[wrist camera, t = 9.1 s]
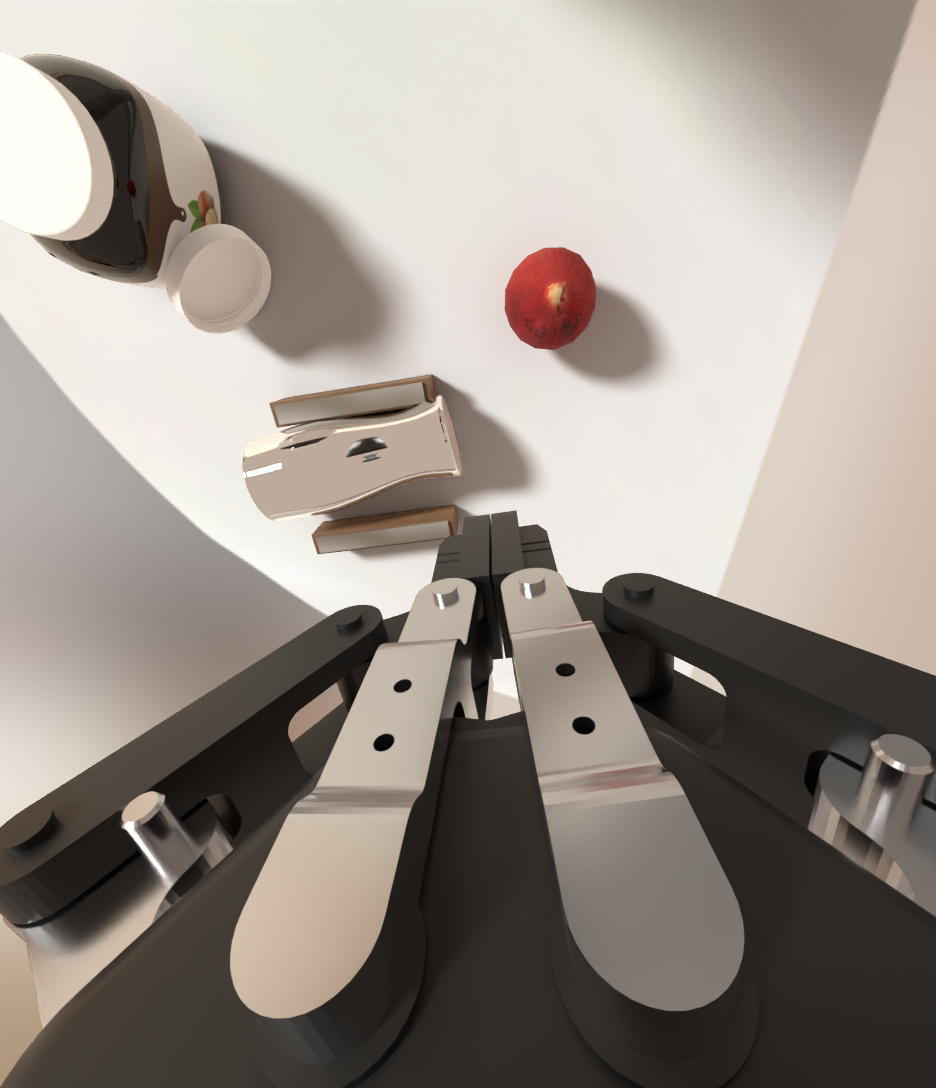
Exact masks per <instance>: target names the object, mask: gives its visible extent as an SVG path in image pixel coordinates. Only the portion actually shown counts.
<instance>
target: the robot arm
mask: <svg viewBox="0 0 936 1088" xmlns="http://www.w3.org/2000/svg"><path fill="white" fill-rule="evenodd" d="M502 638H503V644H504V650H505V656H506V658H511V657H512V662H513V668H514V675H515V681H516V687H517V692H518V698H519V703H520V709H521V712H518V713H515V714H511V715H508V716H504V717H501V718H498V719H494V720H490V716H491V705H492V695H493V679H492V670H493V659H502V658H503V646H502ZM674 656H675V657H677V658H679V659H681V660H683V661H685V662H687V663H689V664H691V665H693V666H695V667H698V668H699V669H702V670H703V671H706V672H707V673H709V674H711V675H712V676H713V677H715V678H716V679H717V680H718V681H719V682H720V684H721V685H722V686H723V688H724V690H725V692H726V696H727V697H726V696H724V695H722V694H720V693H718V692H716V691H714V690H712V689H710V688H709V687H706V686H705V685H703V684H701V683H699V682H697V681H695V680H693V679H691V678H689V677H687V676H685V675H683V674H682V673H680V672H678V671H676V670H674ZM335 683H337V685H338V688H339V691H340V693H341V696H342V698H343V701H344V702H343V703H341V704H340V705H339V706H338V707H336V708H335V709H334V710H332V711H331V712H330V713H329V714H327V715H326V716H325V717H324V718H322V719H321V720H320V721H319V722H317V723H316V724H315V725H314V726H312V727H311V728H310V729H309V730H307V731H306V732H305V733H303V734H302V735H301V736H300V737H298V738H297V739H296V740H295V741H293V742H291V740H290V738H289V736H288V726H289V723H290V721H291V719H292V718H293V716H294V715H295V714H296V713H297V712H298V711H299V710H300V709H301V708H303V707H304V706H305V705H307V704H308V703H309V702H311V701H312V700H313V699H315V698H316V697H317V696H319V695H320V694H321V693H323V692H324V691H325V690H326V689H328V688H329V687H331V686H332V685H333V684H335ZM0 914H2V915H3V920H4V922H5V924H6V925H7V926H8V927H9V928H11V930H13V931H14V932H15V933H16V934H17V935H18V936H19V937H20V938H21V939H23V940H24V941H25V942H26V946H27V951H28V957H29V962H30V967H31V972H32V977H33V982H34V988H35V993H36V998H37V1003H38V1008H39V1013H40V1019H41V1024H42V1031H41V1032H40V1033H39V1034H38V1035H37V1037H36V1038H35V1039H34V1041H33V1042H32V1043H31V1044H30V1046H29V1047H28V1048H27V1049H26V1051H25V1052H24V1053H23V1054H22V1056H21V1057H20V1059H19V1060H18V1062H17V1063H16V1065H15V1066H14V1067H13V1069H12V1071H11V1072H10V1073H9V1075H8V1076H7V1077H6V1079H5V1080H4V1082H3V1084H2V1085H1V1087H0V1088H936V676H934V675H932V674H929V673H926V672H923V671H920V670H918V669H915V668H912V667H909V666H907V665H903V664H901V663H898V662H895V661H893V660H890V659H887V658H884V657H881V656H879V655H876V654H873V653H870V652H867V651H865V650H862V649H859V648H856V647H853V646H851V645H848V644H845V643H842V642H840V641H837V640H834V639H831V638H829V637H825V636H823V635H820V634H817V633H815V632H812V631H809V630H806V629H803V628H801V627H798V626H795V625H792V624H790V623H787V622H784V621H781V620H778V619H776V618H772V617H770V616H767V615H765V614H762V613H759V612H756V611H753V610H751V609H748V608H745V607H742V606H739V605H737V604H734V603H731V602H728V601H725V600H723V599H720V598H717V597H714V596H712V595H709V594H706V593H703V592H700V591H698V590H695V589H692V588H689V587H687V586H684V585H681V584H678V583H675V582H673V581H670V580H667V579H664V578H662V577H659V576H655V575H651V574H644V573H630V574H624V575H619V576H617V577H614V578H612V579H610V580H609V581H608V582H606V584H605V585H604V587H603V590H602V593H592V592H583V591H579V590H575V589H573V588H570V587H568V586H567V585H566V583H565V581H564V579H563V577H562V576H561V575H560V574H559V573H558V571H557V568H556V564H555V560H554V556H553V553H552V549H551V545H550V542H549V538H548V534H547V531H546V530H544V529H543V528H541V527H540V526H539V525H529V526H522V527H519V526H518V519H517V512H516V511H510V512H502V513H495V514H491V519H490V515H489V514H488V515H481V516H474V517H466V518H464V525H463V533H462V535H455V536H448V537H447V538H446V539H445V540H444V541H443V542H442V543H441V544H440V546H439V550H438V556H437V560H436V564H435V569H434V573H433V578H432V583H430V584H429V585H427V586H425V587H424V588H422V589H421V590H420V591H419V592H418V594H417V595H416V598H415V600H414V603H413V605H412V608H411V610H410V611H409V612H406V613H404V614H401V615H398V616H395V617H391V618H388V619H385V620H383V618H382V615H381V612H380V610H379V609H378V608H376V607H374V606H370V605H356V606H351V607H348V608H345V609H342V610H340V611H337V612H335V613H334V614H332V615H330V616H329V617H327V618H326V619H324V620H322V621H321V622H319V623H318V624H316V625H315V626H313V627H312V628H310V629H308V630H307V631H305V632H303V633H302V634H300V635H299V636H297V637H296V638H294V639H292V640H291V641H289V642H288V643H286V644H285V645H283V646H281V647H280V648H278V649H277V650H275V651H273V652H272V653H270V654H269V655H267V656H266V657H264V658H263V659H261V660H259V661H258V662H256V663H254V664H253V665H251V666H250V667H248V668H247V669H245V670H244V671H242V672H240V673H239V674H237V675H236V676H234V677H233V678H231V679H229V680H228V681H226V682H224V683H223V684H222V685H220V686H218V687H217V688H215V689H213V690H212V691H210V692H209V693H207V694H205V695H204V696H202V697H201V698H199V699H198V700H196V701H194V702H193V703H191V704H190V705H188V706H187V707H185V708H183V709H182V710H180V711H179V712H177V713H175V714H174V715H172V716H171V717H169V718H168V719H166V720H164V721H163V722H161V723H160V724H158V725H156V726H155V727H153V728H152V729H150V730H149V731H147V732H145V733H144V734H142V735H141V736H139V737H138V738H136V739H135V740H133V741H131V742H130V743H128V744H127V745H125V746H123V747H122V748H120V749H119V750H117V751H116V752H114V753H112V754H111V755H109V756H107V757H106V758H104V759H103V760H101V761H100V762H98V763H96V764H95V765H93V766H92V767H90V768H89V769H87V770H85V771H84V772H82V773H81V774H79V775H77V776H76V777H74V778H73V779H71V780H70V781H68V782H67V783H65V784H63V785H62V786H60V787H59V788H57V789H55V790H54V791H52V792H51V793H49V794H47V795H46V796H44V797H43V798H41V799H40V800H38V801H36V802H35V803H33V804H32V805H30V806H29V807H27V808H25V809H24V810H22V811H21V812H20V813H18V814H17V815H15V816H14V817H13V818H11V819H10V820H9V821H7V822H6V823H5V824H4V825H3V826H2V827H0Z"/></svg>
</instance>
